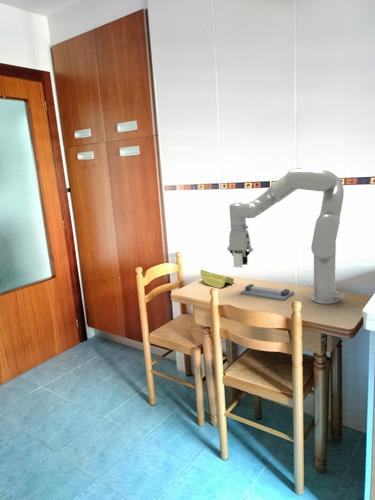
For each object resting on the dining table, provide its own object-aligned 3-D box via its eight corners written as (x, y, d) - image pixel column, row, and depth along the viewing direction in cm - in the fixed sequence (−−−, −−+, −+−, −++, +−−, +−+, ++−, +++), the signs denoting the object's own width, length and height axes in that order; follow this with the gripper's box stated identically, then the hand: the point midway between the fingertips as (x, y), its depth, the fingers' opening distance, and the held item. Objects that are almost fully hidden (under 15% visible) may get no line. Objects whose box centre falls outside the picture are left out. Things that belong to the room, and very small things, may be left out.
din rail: (289, 293, 193) (289, 289, 193) (284, 296, 189) (284, 292, 189) (250, 287, 207) (250, 284, 206) (245, 290, 203) (245, 286, 202)
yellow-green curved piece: (235, 279, 220) (225, 276, 213) (232, 292, 220) (221, 289, 212) (209, 272, 234) (199, 268, 226) (206, 284, 233) (195, 281, 226)
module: (248, 264, 198) (247, 250, 197) (241, 267, 194) (240, 252, 192) (240, 264, 201) (239, 249, 200) (233, 266, 196) (232, 252, 195)
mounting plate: (294, 293, 195) (294, 291, 195) (283, 301, 186) (283, 298, 186) (251, 287, 210) (251, 285, 210) (240, 294, 201) (240, 292, 201)
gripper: (257, 227, 191) (259, 263, 195) (228, 226, 202) (230, 260, 205) (249, 229, 185) (252, 266, 189) (220, 229, 196) (222, 264, 199)
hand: (240, 263), depth 197 cm, fingers closed on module, 4 cm apart
